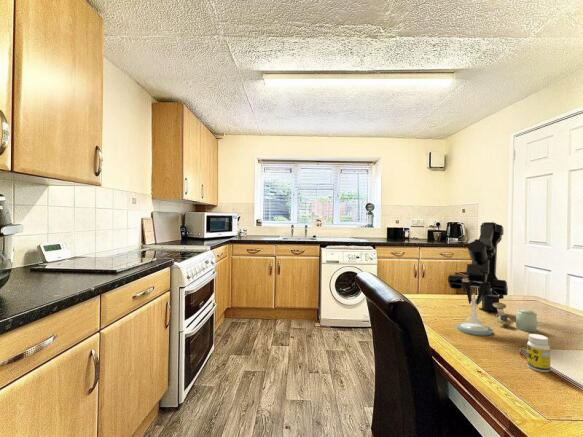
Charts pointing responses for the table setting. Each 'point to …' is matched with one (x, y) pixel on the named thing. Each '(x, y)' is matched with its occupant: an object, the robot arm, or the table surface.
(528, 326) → the sage cup
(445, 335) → the table surface
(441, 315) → the table surface
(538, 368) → the supplement bottle
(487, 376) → the table surface
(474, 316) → the chess piece
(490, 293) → the robot arm
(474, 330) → the dish
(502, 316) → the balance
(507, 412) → the table surface
